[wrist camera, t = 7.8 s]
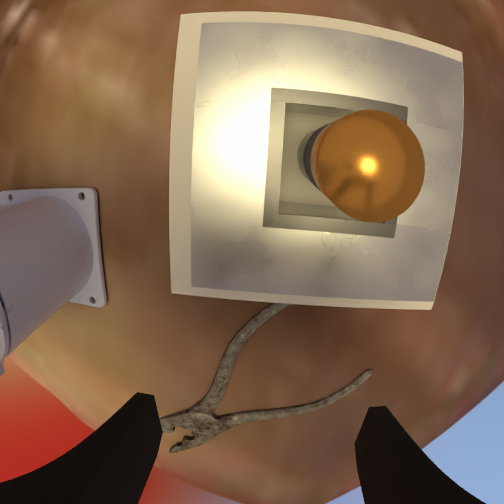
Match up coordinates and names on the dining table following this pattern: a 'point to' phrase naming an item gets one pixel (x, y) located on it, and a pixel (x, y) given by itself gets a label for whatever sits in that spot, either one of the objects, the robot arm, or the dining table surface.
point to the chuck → (270, 162)
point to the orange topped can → (365, 164)
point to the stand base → (295, 130)
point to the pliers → (202, 412)
